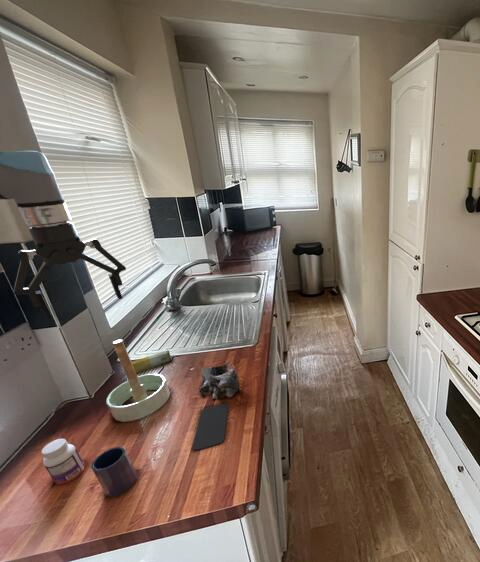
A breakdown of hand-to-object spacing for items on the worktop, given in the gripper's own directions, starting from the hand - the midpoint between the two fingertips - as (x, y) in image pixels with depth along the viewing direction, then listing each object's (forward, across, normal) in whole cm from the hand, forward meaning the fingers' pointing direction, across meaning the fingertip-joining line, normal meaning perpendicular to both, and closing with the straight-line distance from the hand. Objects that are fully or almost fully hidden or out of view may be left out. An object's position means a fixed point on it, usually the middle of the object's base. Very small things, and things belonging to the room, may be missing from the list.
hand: (87, 306), depth 78 cm
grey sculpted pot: (+35, +22, -12) cm, 43 cm away
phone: (+35, +13, -26) cm, 45 cm away
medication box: (+35, +11, +19) cm, 41 cm away
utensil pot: (+35, -8, -26) cm, 44 cm away
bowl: (+35, +3, 0) cm, 35 cm away
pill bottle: (+35, -15, -13) cm, 40 cm away
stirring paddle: (+34, +3, 0) cm, 34 cm away
